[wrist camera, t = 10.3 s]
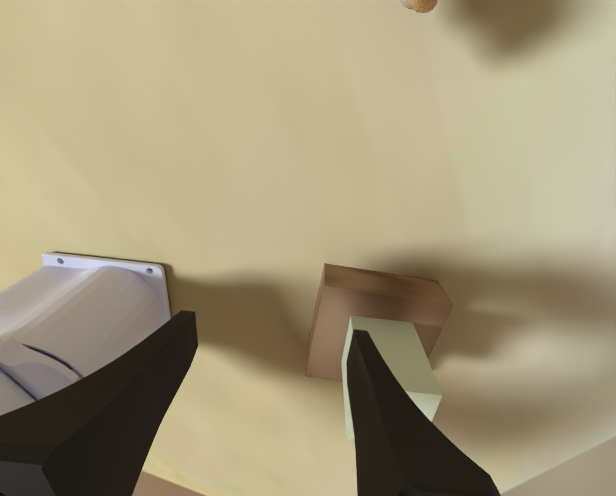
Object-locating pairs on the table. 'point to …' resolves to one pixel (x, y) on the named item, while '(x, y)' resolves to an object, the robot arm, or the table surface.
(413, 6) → the lion figurine
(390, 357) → the sage block
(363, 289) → the walnut block
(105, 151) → the table surface
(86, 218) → the table surface
